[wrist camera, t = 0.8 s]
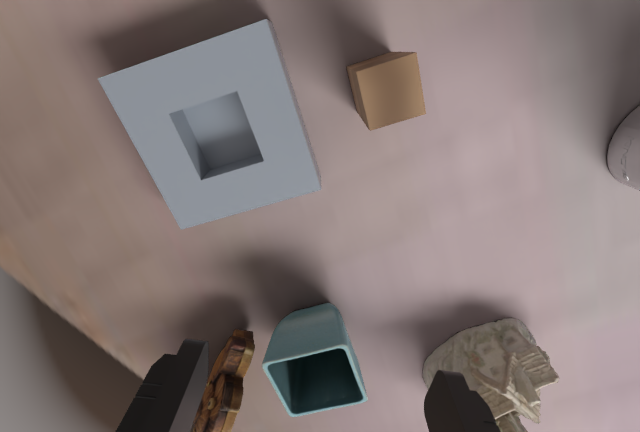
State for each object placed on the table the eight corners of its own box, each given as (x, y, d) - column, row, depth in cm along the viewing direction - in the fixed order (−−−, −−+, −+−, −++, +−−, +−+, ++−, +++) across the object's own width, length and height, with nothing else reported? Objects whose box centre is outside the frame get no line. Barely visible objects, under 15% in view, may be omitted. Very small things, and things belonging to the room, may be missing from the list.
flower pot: (270, 302, 41) (259, 365, 33) (340, 284, 40) (346, 344, 32) (294, 352, 45) (290, 419, 36) (359, 336, 43) (369, 402, 35)
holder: (271, 22, 28) (266, 18, 25) (320, 176, 34) (321, 189, 31) (120, 75, 29) (97, 78, 26) (192, 213, 35) (180, 229, 32)
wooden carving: (226, 309, 41) (201, 381, 32) (262, 318, 42) (248, 391, 33) (200, 394, 48) (174, 473, 39) (232, 400, 49) (213, 479, 40)
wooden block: (391, 51, 29) (416, 52, 22) (399, 98, 31) (426, 113, 23) (346, 66, 29) (356, 71, 22) (357, 112, 31) (369, 130, 24)
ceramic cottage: (451, 420, 51) (506, 548, 37) (403, 351, 45) (448, 471, 32) (549, 377, 49) (648, 496, 35) (512, 298, 43) (613, 403, 29)
